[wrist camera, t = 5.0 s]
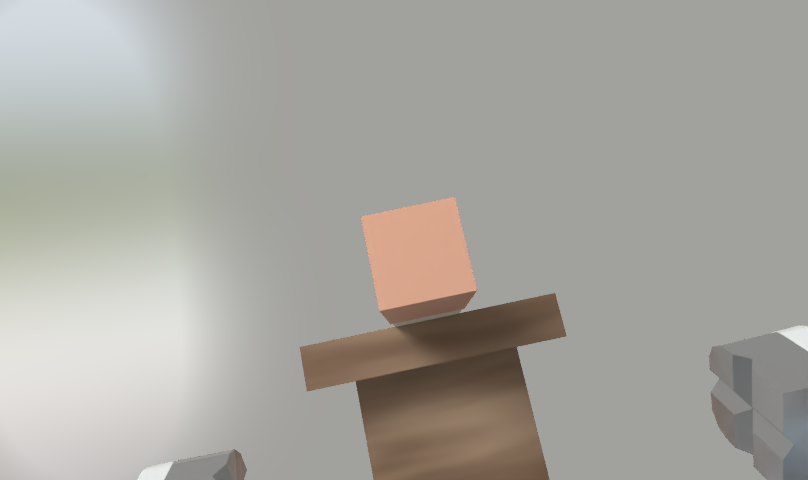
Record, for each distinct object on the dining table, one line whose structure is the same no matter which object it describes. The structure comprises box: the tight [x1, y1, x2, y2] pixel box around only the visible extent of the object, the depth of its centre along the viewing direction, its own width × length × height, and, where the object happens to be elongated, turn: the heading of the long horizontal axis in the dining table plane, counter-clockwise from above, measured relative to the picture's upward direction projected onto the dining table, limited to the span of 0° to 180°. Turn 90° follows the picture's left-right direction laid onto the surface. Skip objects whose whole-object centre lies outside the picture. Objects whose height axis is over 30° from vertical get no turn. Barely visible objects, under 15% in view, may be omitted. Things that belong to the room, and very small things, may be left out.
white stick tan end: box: [361, 197, 477, 327], centre depth 30 cm, size 24×3×3 cm, turn 178°
